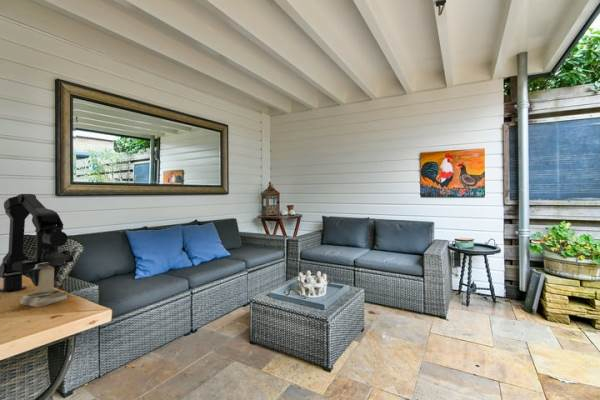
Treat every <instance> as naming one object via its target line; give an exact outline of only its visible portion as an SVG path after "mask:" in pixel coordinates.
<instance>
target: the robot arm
mask: <svg viewBox="0 0 600 400" xmlns="http://www.w3.org/2000/svg"><path fill="white" fill-rule="evenodd" d="M3 208H4V212H5V214H6V216H8V218H9V231H8V232H9V235H8V249H7V250H8V252H7V253H6V255H5V256H3V258H2V263H1V264H0V279H3V281H2V282H3V283H2V287H3V288H0V292H4V293H10V292H14V291H19V290H23V289H26V288H27V287H26V286H23V275H27V276H28V277H29V279H30V280H31V282H32V284H33V285H34V287H35V286H38V273H39V271H40V270H41V269H38V267H39V266H41V265H50V266H52V267H54V282H55V281H56V280H57V279H56V278H57V277H58V274H59V272H60V270H61V269H62V268H63V267H64V266H66V265H67V264H69V263H73V262H75V257H74V256H73V255H72V254H71V251H70V250H69V249H66V250H65V249H64V250H61V251H59V247H62V246H64V245H66V243H67V242H68V239H69V237H68V234H66V232H64V231H62V230H64V223H63V221H62V219H61V217H60V215H59V214H58V213H57V211H55V210H53V209H50V208H47V207H46V206H44V205H43V203H41V202H40V201H39V199H38V197H37V195H36V194H34V193H20V194H18V195H16V196H12V197H9V198H7V199H6V200H5V201H4V203H3ZM30 215H31V216H32V218H31V223H32V224H33V226H34V228H35V230H34V231H35V234H36V235H35V246H34V247H33V248H32V249H33V250H34V251H35V257H32V260H29V257H28V255H26V254H25V252H24V243H25V226H26V224H25V223H26V219H27V218H28V216H30Z"/></svg>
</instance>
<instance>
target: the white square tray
mask: <svg viewBox="0 0 600 400" xmlns="http://www.w3.org/2000/svg"><path fill="white" fill-rule="evenodd" d="M64 299H65V300H67V299H68V291H67V290H59V289H53V290H52V291H49V292H43V293H37V292H31V293H28V294H23V295H20V305H26V306H29V307H38V308H41V307H44V306H47V305H51V304H55V303H57V302H61V301H64Z"/></svg>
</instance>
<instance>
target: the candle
mask: <svg viewBox="0 0 600 400" xmlns="http://www.w3.org/2000/svg"><path fill="white" fill-rule="evenodd" d="M38 269H41V270H40V271H39V273H38V286H35V285H34V289H35V290H34V291H35V292H37V293H43V292H49V291H52V290H53V289H54V287H55V281H54V267H52V266H50V265H49V264H44V265H39V266H38ZM54 290H55V289H54ZM35 292H34V293H35Z"/></svg>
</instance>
